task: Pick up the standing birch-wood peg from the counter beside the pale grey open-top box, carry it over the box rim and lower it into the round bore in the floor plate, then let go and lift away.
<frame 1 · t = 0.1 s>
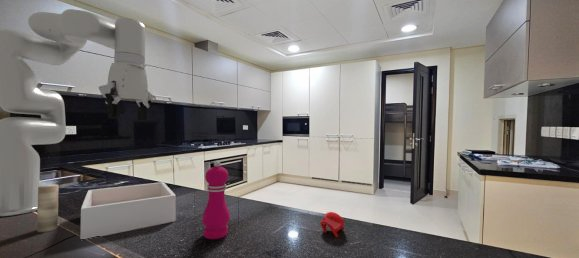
hand: (128, 119, 70), 31 cm above the counter, tool pointing down, fingers open, 9 cm apart
peg: (47, 229, 65), on the counter
red toy chair: (333, 233, 66), on the counter
pepper mill: (215, 234, 64), on the counter
box: (130, 217, 74), on the counter
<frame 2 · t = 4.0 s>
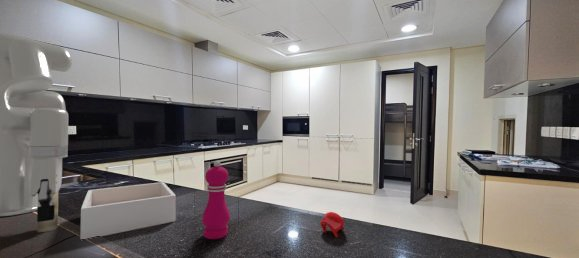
hand: (47, 217, 65), 3 cm above the counter, tool pointing down, fingers closed on peg, 4 cm apart
peg: (47, 229, 65), on the counter, touching gripper
everything else where it was.
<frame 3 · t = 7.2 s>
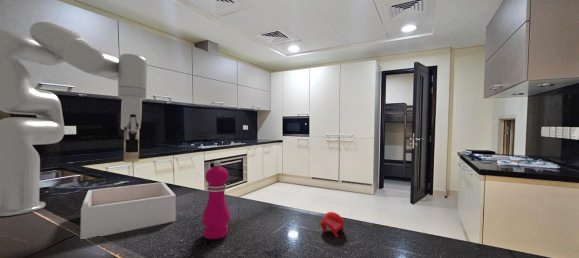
hand: (131, 151, 74), 21 cm above the counter, tool pointing down, fingers closed on peg, 4 cm apart
peg: (131, 161, 74), point 18 cm above the counter, touching gripper
everything else where it was.
when the fingers open (5 cm above the counter, at t = 10.2 s): peg drops 1 cm, resting in box.
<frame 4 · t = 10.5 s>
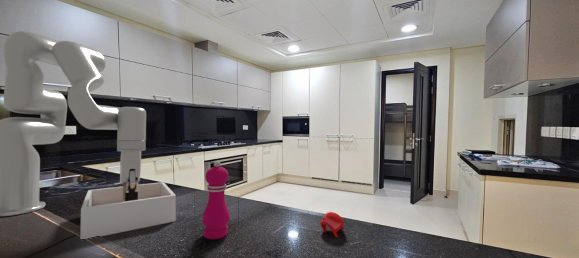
hand: (130, 201, 74), 5 cm above the counter, tool pointing down, fingers open, 6 cm apart
peg: (130, 217, 74), resting in box
everything else where it was.
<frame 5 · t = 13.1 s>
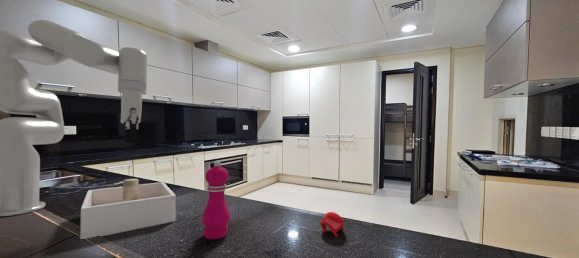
hand: (131, 141, 74), 24 cm above the counter, tool pointing down, fingers open, 9 cm apart
nothing on the counter moved.
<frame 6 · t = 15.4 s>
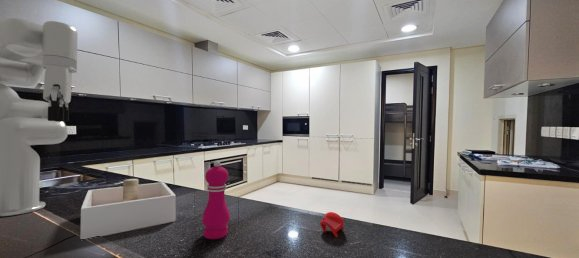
hand: (58, 121, 71), 30 cm above the counter, tool pointing down, fingers open, 9 cm apart
nothing on the counter moved.
at the end: peg 0.0 cm off-centre on the box, point 0.0 cm above the box's base; peg tilted 0°; the gripper is holding nothing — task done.
